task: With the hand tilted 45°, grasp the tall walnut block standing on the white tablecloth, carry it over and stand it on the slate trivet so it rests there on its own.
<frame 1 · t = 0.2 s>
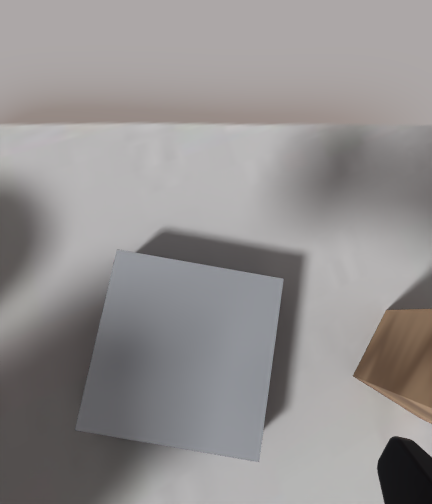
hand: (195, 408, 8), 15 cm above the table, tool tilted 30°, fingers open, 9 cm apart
slate trivet: (187, 345, 22), on the table
walnut block: (403, 362, 22), on the table
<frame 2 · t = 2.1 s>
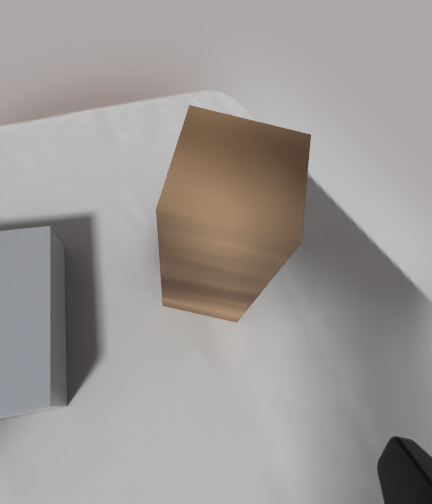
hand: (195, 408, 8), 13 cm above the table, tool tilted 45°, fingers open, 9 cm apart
walnut block: (207, 279, 23), on the table
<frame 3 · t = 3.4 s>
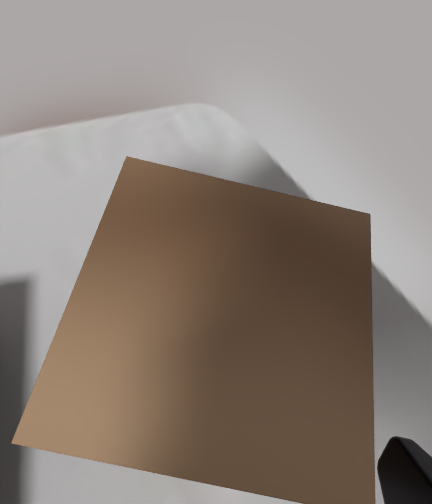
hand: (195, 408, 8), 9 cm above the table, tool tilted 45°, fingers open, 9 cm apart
walnut block: (189, 373, 16), on the table
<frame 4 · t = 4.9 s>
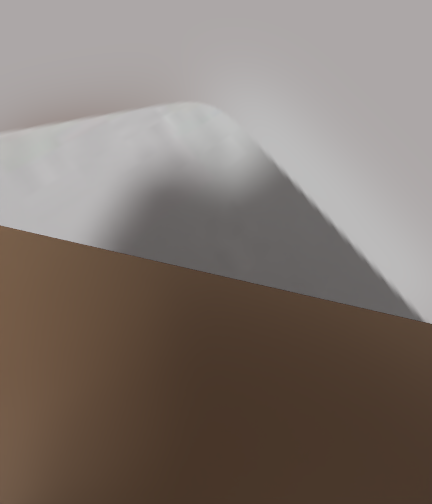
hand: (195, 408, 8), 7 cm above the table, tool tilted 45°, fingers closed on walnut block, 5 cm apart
walnut block: (175, 446, 13), on the table, touching gripper
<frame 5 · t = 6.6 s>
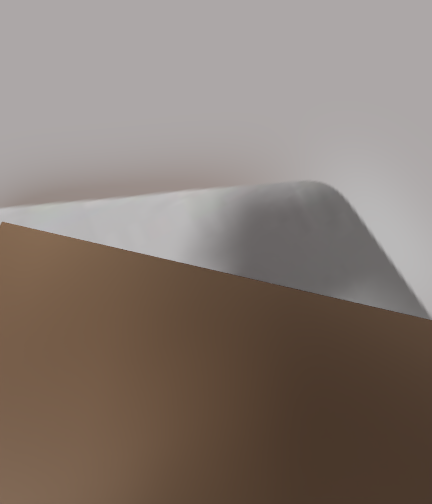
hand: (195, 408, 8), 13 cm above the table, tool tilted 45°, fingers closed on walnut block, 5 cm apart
walnut block: (176, 445, 13), point 7 cm above the table, touching gripper
when the fingers open (10 cm above the table, at t = 8.2 s): walnut block stays where it is, resting on slate trivet.
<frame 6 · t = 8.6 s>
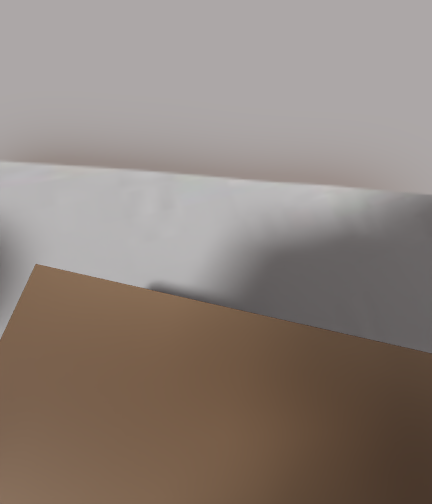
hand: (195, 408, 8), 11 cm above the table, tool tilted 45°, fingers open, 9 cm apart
walnut block: (175, 443, 14), point 3 cm above the table, touching slate trivet
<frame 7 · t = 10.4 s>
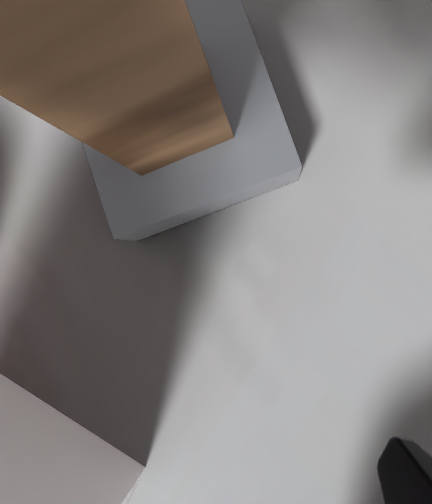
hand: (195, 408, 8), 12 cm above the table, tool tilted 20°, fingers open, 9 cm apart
slate trivet: (186, 132, 20), on the table
milk: (31, 495, 22), on the table
walnut block: (170, 110, 17), point 3 cm above the table, touching slate trivet
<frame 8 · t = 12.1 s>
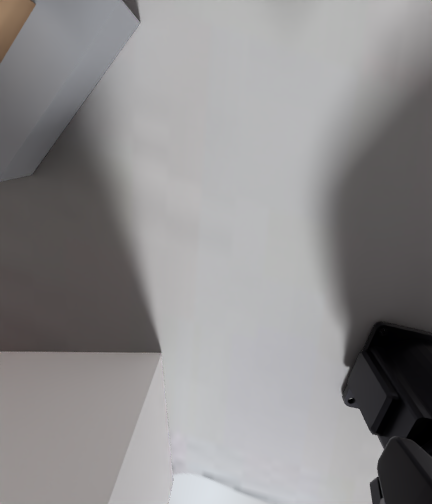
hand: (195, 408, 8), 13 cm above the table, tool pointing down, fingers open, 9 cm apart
slate trivet: (0, 30, 17), on the table
milk: (92, 418, 25), on the table
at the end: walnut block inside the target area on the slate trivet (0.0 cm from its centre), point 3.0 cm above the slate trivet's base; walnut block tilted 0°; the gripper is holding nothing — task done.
